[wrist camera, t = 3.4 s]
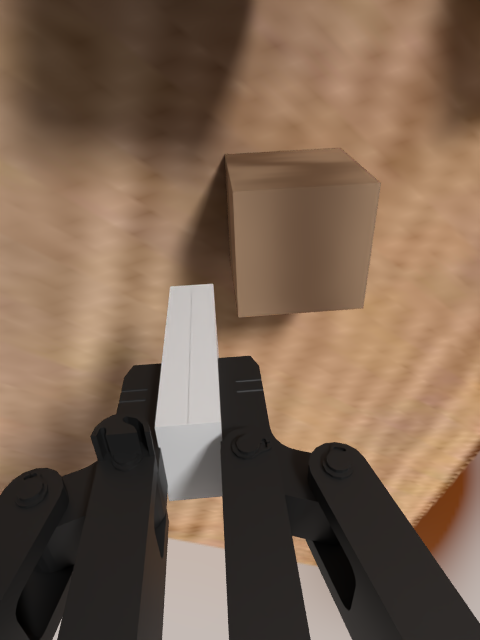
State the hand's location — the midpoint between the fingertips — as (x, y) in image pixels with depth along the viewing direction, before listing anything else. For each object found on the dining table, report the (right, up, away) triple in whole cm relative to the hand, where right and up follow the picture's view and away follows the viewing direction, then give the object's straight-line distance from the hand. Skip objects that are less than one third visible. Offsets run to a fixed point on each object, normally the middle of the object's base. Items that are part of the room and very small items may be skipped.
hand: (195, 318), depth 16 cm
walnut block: (+4, +6, +8) cm, 11 cm away
